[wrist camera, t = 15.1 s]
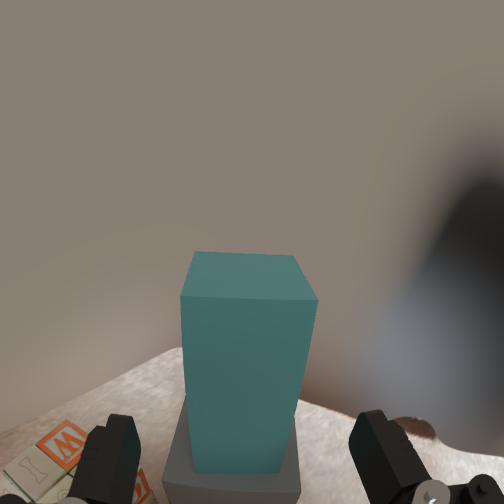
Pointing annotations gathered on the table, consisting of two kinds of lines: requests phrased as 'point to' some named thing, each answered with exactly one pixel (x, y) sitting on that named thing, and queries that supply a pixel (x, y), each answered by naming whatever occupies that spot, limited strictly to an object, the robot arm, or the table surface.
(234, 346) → the teal pillar
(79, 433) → the stack of blocks
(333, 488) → the table surface
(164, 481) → the tower top block
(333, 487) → the table surface
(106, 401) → the table surface
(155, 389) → the table surface
